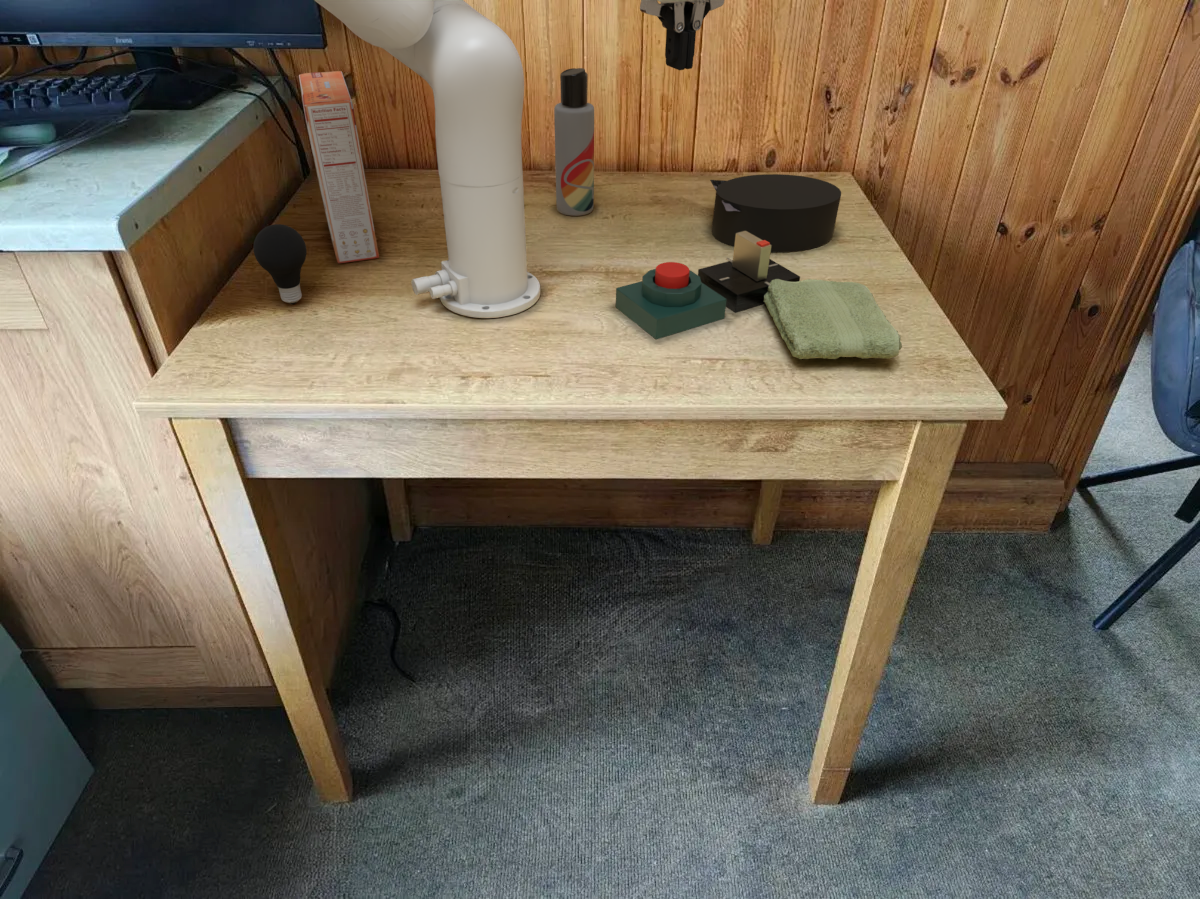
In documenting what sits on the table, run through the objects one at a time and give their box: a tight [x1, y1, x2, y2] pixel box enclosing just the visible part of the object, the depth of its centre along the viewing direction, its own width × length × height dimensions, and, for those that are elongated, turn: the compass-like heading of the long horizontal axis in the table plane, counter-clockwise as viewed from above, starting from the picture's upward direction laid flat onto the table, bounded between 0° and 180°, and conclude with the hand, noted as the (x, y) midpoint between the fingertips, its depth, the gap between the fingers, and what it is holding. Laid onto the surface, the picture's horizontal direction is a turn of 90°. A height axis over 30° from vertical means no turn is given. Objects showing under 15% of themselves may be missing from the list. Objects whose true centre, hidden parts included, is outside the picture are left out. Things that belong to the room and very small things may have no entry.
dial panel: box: [697, 257, 801, 314], centre depth 107 cm, size 10×9×3 cm
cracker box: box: [298, 70, 380, 264], centre depth 111 cm, size 14×6×21 cm, turn 18°
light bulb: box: [253, 223, 308, 305], centre depth 100 cm, size 6×6×10 cm
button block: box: [615, 268, 727, 340], centre depth 101 cm, size 10×9×4 cm
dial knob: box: [732, 231, 772, 281], centre depth 104 cm, size 5×2×5 cm, turn 31°
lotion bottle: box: [553, 67, 595, 217], centre depth 122 cm, size 6×6×20 cm
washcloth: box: [764, 278, 903, 360], centre depth 98 cm, size 13×18×3 cm
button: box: [655, 261, 691, 289], centre depth 99 cm, size 4×4×2 cm
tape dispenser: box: [709, 173, 842, 253], centre depth 120 cm, size 14×18×8 cm
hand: (678, 66), depth 97 cm, fingers closed
